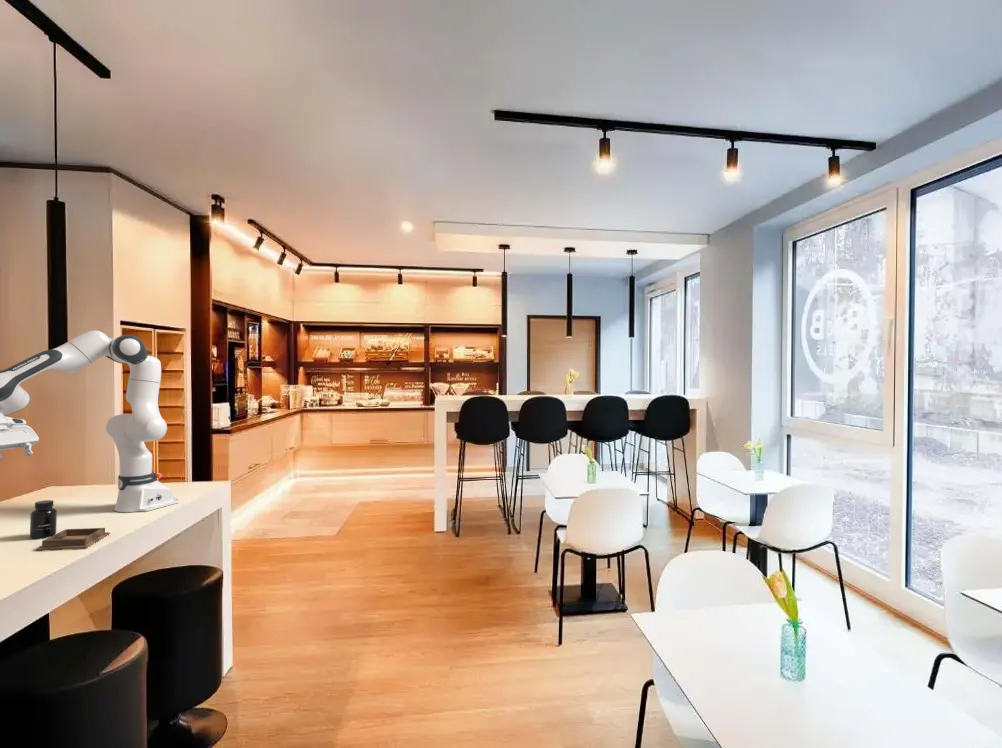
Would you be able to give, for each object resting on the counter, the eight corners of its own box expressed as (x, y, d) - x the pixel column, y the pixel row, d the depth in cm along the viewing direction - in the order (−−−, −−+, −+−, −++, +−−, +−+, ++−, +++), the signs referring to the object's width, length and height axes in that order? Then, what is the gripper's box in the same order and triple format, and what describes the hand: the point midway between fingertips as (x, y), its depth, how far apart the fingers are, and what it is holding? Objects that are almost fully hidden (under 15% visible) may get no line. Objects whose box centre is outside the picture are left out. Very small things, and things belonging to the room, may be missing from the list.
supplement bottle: (40, 540, 172) (40, 505, 172) (24, 538, 173) (24, 503, 173) (61, 533, 179) (62, 499, 179) (46, 532, 180) (46, 498, 180)
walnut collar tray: (63, 536, 176) (63, 528, 176) (109, 534, 179) (109, 526, 179) (36, 551, 162) (36, 542, 162) (86, 548, 165) (86, 540, 165)
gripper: (-38, 424, 169) (-15, 455, 167) (29, 419, 189) (50, 446, 187) (-49, 437, 170) (-26, 468, 168) (19, 430, 190) (40, 458, 188)
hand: (15, 457), depth 178 cm, fingers open, 8 cm apart
